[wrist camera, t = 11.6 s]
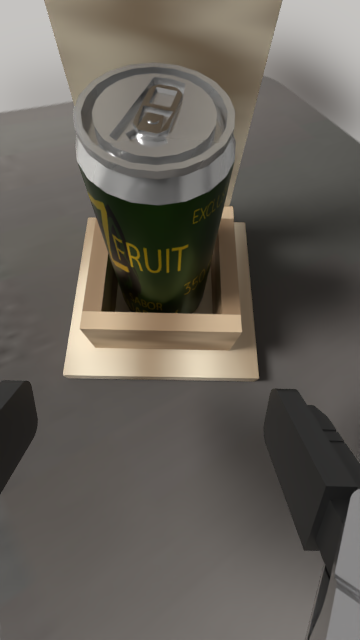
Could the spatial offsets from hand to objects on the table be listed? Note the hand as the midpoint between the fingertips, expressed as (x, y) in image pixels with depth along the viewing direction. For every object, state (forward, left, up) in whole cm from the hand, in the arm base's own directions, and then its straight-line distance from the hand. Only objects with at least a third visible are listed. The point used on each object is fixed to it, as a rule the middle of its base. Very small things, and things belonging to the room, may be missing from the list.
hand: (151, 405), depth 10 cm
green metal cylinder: (0, -8, -8) cm, 11 cm away
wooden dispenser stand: (0, -8, -9) cm, 12 cm away
